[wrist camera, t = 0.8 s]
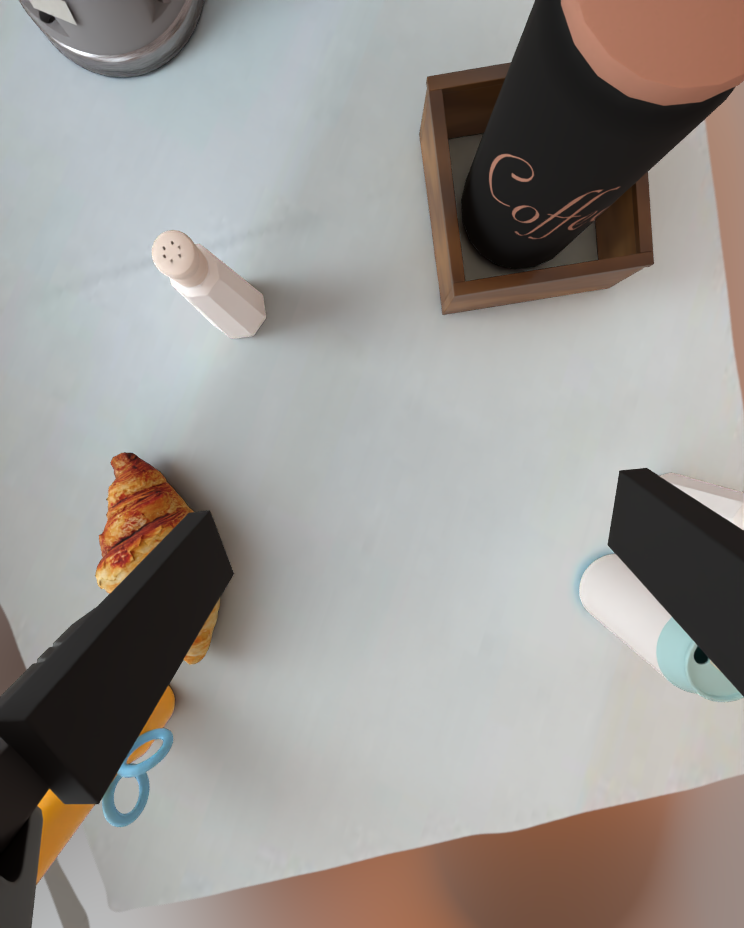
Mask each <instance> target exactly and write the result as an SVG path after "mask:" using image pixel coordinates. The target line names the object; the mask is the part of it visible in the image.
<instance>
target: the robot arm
mask: <svg viewBox="0 0 744 928" xmlns="http://www.w3.org/2000/svg"><path fill="white" fill-rule="evenodd" d="M19 1H20V3H21V5H22V6H23V8H24V9H25V11H26V12H27V14H28V15H29V16H30V17H31V18H32V20H33V21H34V22H35V23H36V24H37V26H38V27H39V28H40V29H41V30H42V32H43V33H44V34H45V35H46V36H47V38H48V39H49V40H50V41H51V42H52V44H53V45H54V46H55V47H56V48H57V49H58V50H59V51H60V52H61V53H62V54H64V55H65V56H66V57H67V58H68V59H70V60H71V61H73V62H74V63H76V64H77V65H79V66H81V67H83V68H85V69H87V70H89V71H92V72H95V73H98V74H101V75H106V76H112V77H131V76H137V75H142V74H145V73H148V72H151V71H153V70H155V69H157V68H159V67H161V66H162V65H164V64H166V63H167V62H168V61H170V60H171V59H172V58H174V57H175V56H176V55H177V54H178V53H179V52H180V51H181V49H182V48H183V47H184V46H185V45H186V43H187V42H188V40H189V39H190V37H191V35H192V34H193V32H194V30H195V28H196V25H197V23H198V21H199V18H200V15H201V11H202V7H203V3H204V0H19ZM608 546H609V547H610V548H611V549H612V550H613V551H614V553H615V554H616V555H617V556H618V557H619V558H620V559H621V560H622V562H623V563H624V564H625V565H626V566H627V567H628V568H629V569H630V570H631V572H632V573H633V574H634V575H635V576H636V577H637V578H638V579H639V581H640V582H641V583H642V584H643V585H644V586H645V587H646V588H647V590H648V591H649V592H650V593H651V594H652V595H653V596H654V597H655V598H656V600H657V601H658V602H659V603H660V604H661V605H662V606H663V607H664V609H665V610H666V611H667V612H668V613H669V614H670V615H671V616H672V617H673V619H674V620H675V621H676V622H677V623H678V624H679V625H680V626H681V628H682V629H683V630H684V631H685V632H686V633H687V634H688V635H689V636H690V638H691V639H692V640H693V641H694V642H695V643H696V644H697V645H698V647H699V648H700V649H701V650H702V651H703V652H704V653H705V654H706V655H707V657H708V658H709V659H710V660H711V661H712V662H713V663H714V664H715V666H716V667H717V668H718V669H719V670H720V671H721V672H722V673H723V674H724V676H725V677H726V678H727V679H728V680H729V681H730V682H731V683H732V685H733V686H734V687H735V688H736V689H737V690H738V691H739V692H740V693H741V695H742V696H743V697H744V530H742V529H741V528H739V527H738V526H736V525H735V524H733V523H731V522H730V521H728V520H727V519H725V518H724V517H722V516H721V515H719V514H717V513H716V512H714V511H713V510H711V509H710V508H708V507H707V506H705V505H703V504H702V503H700V502H699V501H697V500H696V499H694V498H693V497H691V496H689V495H688V494H686V493H685V492H683V491H682V490H680V489H679V488H677V487H676V486H674V485H672V484H671V483H669V482H668V481H666V480H665V479H663V478H662V477H660V476H658V475H657V474H655V473H654V472H652V471H651V470H649V469H648V468H642V469H631V470H621V471H619V477H618V483H617V490H616V496H615V502H614V508H613V515H612V521H611V527H610V533H609V540H608ZM233 575H234V572H233V570H232V567H231V565H230V562H229V559H228V557H227V554H226V551H225V549H224V546H223V544H222V541H221V538H220V536H219V533H218V530H217V528H216V525H215V523H214V520H213V517H212V515H211V512H210V511H201V512H190V513H188V514H187V515H186V516H185V517H184V518H183V519H182V520H181V521H180V522H179V523H178V524H177V525H176V526H175V527H174V528H173V529H172V530H171V532H170V533H169V534H168V535H167V536H166V537H165V538H164V539H163V540H162V541H161V542H160V543H159V544H158V545H157V546H156V547H155V548H154V549H153V550H152V551H151V552H150V553H149V554H148V555H147V556H146V557H145V558H144V559H143V560H142V561H141V562H140V563H139V564H138V565H137V566H136V567H135V568H134V569H133V570H132V572H131V573H130V574H129V575H128V576H127V577H126V578H125V579H124V580H123V581H122V582H121V583H120V584H119V585H118V586H117V587H116V588H115V589H114V590H113V591H112V592H111V593H110V594H109V595H108V596H107V597H106V598H105V599H104V600H103V601H102V602H101V603H100V604H99V605H98V606H97V607H96V608H94V609H93V610H92V611H90V612H89V613H87V614H86V615H85V616H83V617H82V618H81V619H79V620H78V621H76V622H75V623H74V624H72V625H71V626H70V627H69V628H68V629H67V630H66V631H65V632H64V633H63V634H62V635H61V636H60V637H59V638H58V639H57V640H56V641H55V642H54V643H53V647H49V648H48V649H47V650H46V651H45V652H44V653H43V654H42V655H41V656H40V657H39V658H38V659H37V663H36V664H32V665H31V666H30V667H29V668H28V669H27V670H26V671H25V672H24V673H23V674H22V675H21V676H20V677H19V678H18V679H17V680H16V681H15V682H14V683H13V684H12V685H11V686H10V687H9V688H8V689H7V690H6V691H5V692H4V693H3V694H2V696H0V928H31V926H32V917H33V908H34V898H35V889H36V881H37V872H38V863H39V854H40V845H41V836H42V827H43V815H42V810H41V809H40V808H39V807H38V806H37V805H38V804H39V803H40V801H41V800H42V798H43V797H44V795H45V794H46V793H47V791H48V790H49V789H50V790H51V791H52V792H53V793H54V794H55V795H56V796H57V797H58V798H59V799H60V800H61V801H62V802H63V803H64V804H99V803H100V801H101V799H102V798H103V796H104V794H105V793H106V791H107V789H108V787H109V786H110V784H111V782H112V781H113V779H114V777H115V776H116V774H117V772H118V770H119V769H120V767H121V765H122V764H123V762H124V760H125V758H126V757H127V755H128V753H129V752H130V750H131V748H132V747H133V745H134V743H135V741H136V740H137V738H138V736H139V735H140V733H141V731H142V730H143V728H144V726H145V724H146V723H147V721H148V719H149V718H150V716H151V714H152V712H153V711H154V709H155V707H156V706H157V704H158V702H159V701H160V699H161V697H162V695H163V694H164V692H165V690H166V689H167V687H168V685H169V684H170V682H171V680H172V678H173V677H174V675H175V673H176V672H177V670H178V668H179V667H180V665H181V663H182V661H183V660H184V658H185V656H186V655H187V653H188V651H189V649H190V648H191V646H192V644H193V643H194V641H195V639H196V638H197V636H198V634H199V632H200V631H201V629H202V627H203V626H204V624H205V622H206V621H207V619H208V617H209V615H210V614H211V612H212V610H213V609H214V607H215V605H216V603H217V602H218V600H219V598H220V597H221V595H222V593H223V592H224V590H225V588H226V586H227V585H228V583H229V581H230V580H231V578H232V576H233Z"/></svg>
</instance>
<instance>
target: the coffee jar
mask: <svg viewBox="0 0 744 928" xmlns="http://www.w3.org/2000/svg"><path fill="white" fill-rule="evenodd" d="M743 81H744V0H535V2H534V5H533V8H532V10H531V13H530V15H529V18H528V20H527V23H526V26H525V28H524V31H523V33H522V36H521V39H520V41H519V44H518V46H517V49H516V52H515V54H514V57H513V59H512V62H511V64H510V67H509V70H508V72H507V75H506V77H505V80H504V83H503V85H502V88H501V90H500V93H499V96H498V98H497V101H496V103H495V106H494V109H493V111H492V114H491V116H490V119H489V121H488V124H487V127H486V129H485V132H484V134H483V137H482V140H481V142H480V145H479V147H478V150H477V153H476V155H475V158H474V160H473V163H472V166H471V168H470V171H469V173H468V176H467V178H466V182H465V186H464V191H463V195H462V199H461V203H462V218H463V223H464V226H465V229H466V231H467V234H468V237H469V239H470V241H471V242H472V244H473V245H474V246H475V247H476V249H477V250H478V251H479V252H480V254H481V255H482V256H484V257H486V258H487V259H489V260H490V261H492V262H493V263H495V264H497V265H500V266H505V267H509V268H513V269H517V268H527V267H535V266H537V265H540V264H542V263H544V262H546V261H549V260H551V259H553V258H554V257H555V256H556V255H557V254H558V253H559V252H561V251H562V250H563V249H564V248H565V247H566V246H567V245H568V244H569V243H571V242H572V241H573V240H574V239H575V238H576V237H577V236H578V235H579V234H580V233H581V232H583V231H584V230H585V229H586V228H587V227H588V226H589V225H590V224H591V223H592V222H593V221H594V220H596V219H597V218H598V217H599V216H600V215H601V214H602V213H603V212H604V211H605V210H606V209H608V208H609V207H610V206H611V205H612V204H613V203H614V202H615V201H616V200H617V199H618V198H619V197H621V196H622V195H623V194H624V193H625V192H626V191H627V190H628V189H629V188H630V187H631V186H633V185H634V184H635V183H636V182H637V181H638V180H639V179H640V178H641V177H642V176H643V175H645V174H646V173H647V172H648V171H649V170H650V169H651V168H652V167H653V166H654V165H655V164H656V163H658V162H659V161H660V160H661V159H662V158H663V157H664V156H665V155H666V154H667V153H668V152H670V151H671V150H672V149H673V148H674V147H675V146H676V145H677V144H678V143H679V142H680V141H681V140H683V139H684V138H685V137H686V136H687V135H688V134H689V133H690V132H691V131H692V130H693V129H695V128H696V127H697V126H698V125H699V124H700V123H701V122H702V121H703V120H704V119H705V118H706V117H708V115H710V114H711V113H712V112H713V111H714V110H715V109H716V108H717V107H718V106H719V105H721V104H722V103H723V102H724V101H725V100H726V99H727V97H728V96H729V95H730V94H731V92H732V91H733V89H734V88H735V87H736V86H737V85H739V84H740V83H741V82H743Z"/></svg>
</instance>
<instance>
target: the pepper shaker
mask: <svg viewBox="0 0 744 928" xmlns="http://www.w3.org/2000/svg"><path fill="white" fill-rule="evenodd" d="M152 258H153V261H154V264H155V266H156V267H157V268H158V270H159V271H160V272H162V273H163V274H164V275H166V276H168V277H170V282H171V285H172V286H173V287H174V288H175V289H176V290H177V291H178V292H179V293H180V294H181V295H182V296H183V297H184V298H185V299H186V300H187V301H188V302H189V303H191V304H192V305H193V306H194V307H195V308H196V309H197V310H198V311H199V312H200V313H201V314H202V315H203V316H204V317H205V318H206V319H207V320H209V321H210V322H211V323H212V324H213V325H214V326H215V327H217V328H218V329H219V330H220V331H222V332H223V333H224V334H226V335H227V336H228V337H229V338H231V339H235V338H243V337H251V336H254V334H255V333H256V332H257V330H258V329H259V328H260V326H261V325H262V323H263V322H264V321H265V319H266V312H265V305H264V298H263V294H261V293H260V292H259V291H258V290H257V289H255V288H254V287H253V286H252V285H250V284H249V283H248V282H247V281H245V280H244V279H243V278H242V277H241V276H239V275H238V274H237V273H236V272H234V271H233V270H232V269H231V268H230V267H228V266H227V265H226V264H225V263H223V262H222V261H221V260H219V259H218V258H217V257H216V256H214V255H213V254H212V253H211V252H210V251H208V250H207V249H206V248H205V247H203V246H202V245H200V244H194V243H193V241H192V240H191V239H190V237H188V236H187V235H186V234H185V233H182V232H180V231H176V230H170V231H166V232H164V233H162V234H160V235H159V236H158V237H157V238H156V240H155V241H154V244H153V247H152Z"/></svg>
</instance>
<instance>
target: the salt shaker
mask: <svg viewBox="0 0 744 928" xmlns="http://www.w3.org/2000/svg"><path fill="white" fill-rule="evenodd" d="M659 476H660V477H662V478H663V479H665V480H666V481H668V482H669V483H671V484H672V485H674V486H676V487H677V488H679V489H680V490H682V491H683V492H685V493H686V494H688V495H689V496H691V497H693V498H694V499H696V500H697V501H699V502H700V503H702V504H703V505H705V506H707V507H708V508H710V509H711V510H713V511H714V512H716V513H717V514H719V515H721V516H722V517H724V518H725V519H727V520H728V521H730V522H731V523H733V524H735V525H736V526H738V527H739V528H741V529H742V530H744V493H743V492H740V491H736V490H733V489H729V488H725V487H722V486H718V485H715V484H711V483H708V482H704V481H700V480H697V479H693V478H690V477H686V476H683V475H679V474H675V473H672V472H671V473H667V474H663V475H659Z"/></svg>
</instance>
